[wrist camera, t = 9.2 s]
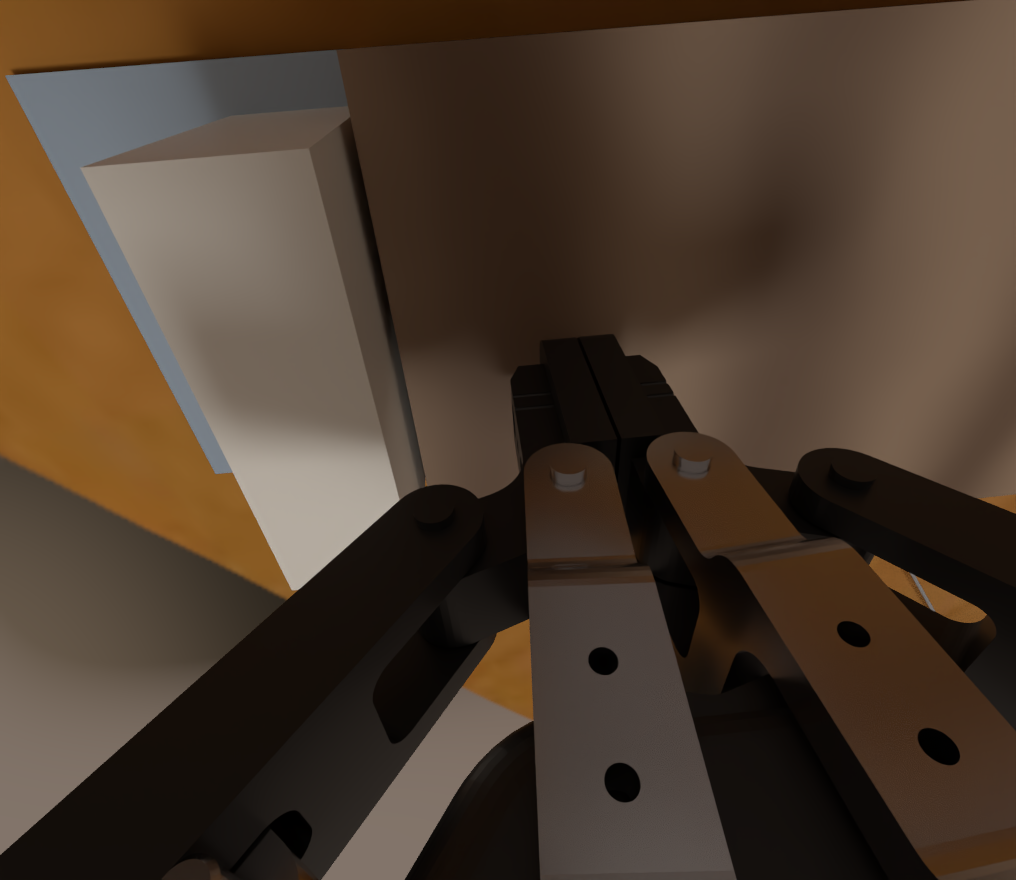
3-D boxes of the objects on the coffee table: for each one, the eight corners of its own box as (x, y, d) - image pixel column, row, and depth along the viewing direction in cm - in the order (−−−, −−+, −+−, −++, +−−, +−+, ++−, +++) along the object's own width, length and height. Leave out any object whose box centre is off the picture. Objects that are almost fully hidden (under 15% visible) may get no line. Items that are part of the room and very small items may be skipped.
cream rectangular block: (308, 148, 7) (80, 167, 7) (419, 576, 13) (291, 590, 12) (366, 104, 12) (231, 115, 12) (428, 428, 17) (336, 437, 17)
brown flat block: (1163, -16, 12) (1421, -35, 9) (936, 417, 19) (1032, 492, 16) (368, 47, 11) (336, 50, 8) (443, 467, 19) (441, 555, 16)
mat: (345, 49, 11) (342, 49, 11) (425, 447, 18) (424, 452, 18) (15, 74, 11) (5, 75, 11) (218, 468, 18) (215, 473, 18)
